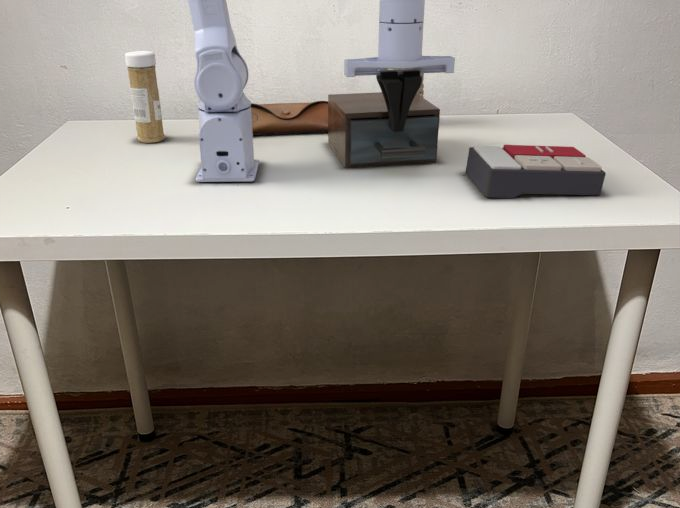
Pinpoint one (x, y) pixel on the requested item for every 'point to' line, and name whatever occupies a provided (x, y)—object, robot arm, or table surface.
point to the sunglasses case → (289, 118)
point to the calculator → (533, 171)
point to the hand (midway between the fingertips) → (396, 130)
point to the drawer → (392, 140)
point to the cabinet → (367, 107)
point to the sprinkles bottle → (145, 96)
